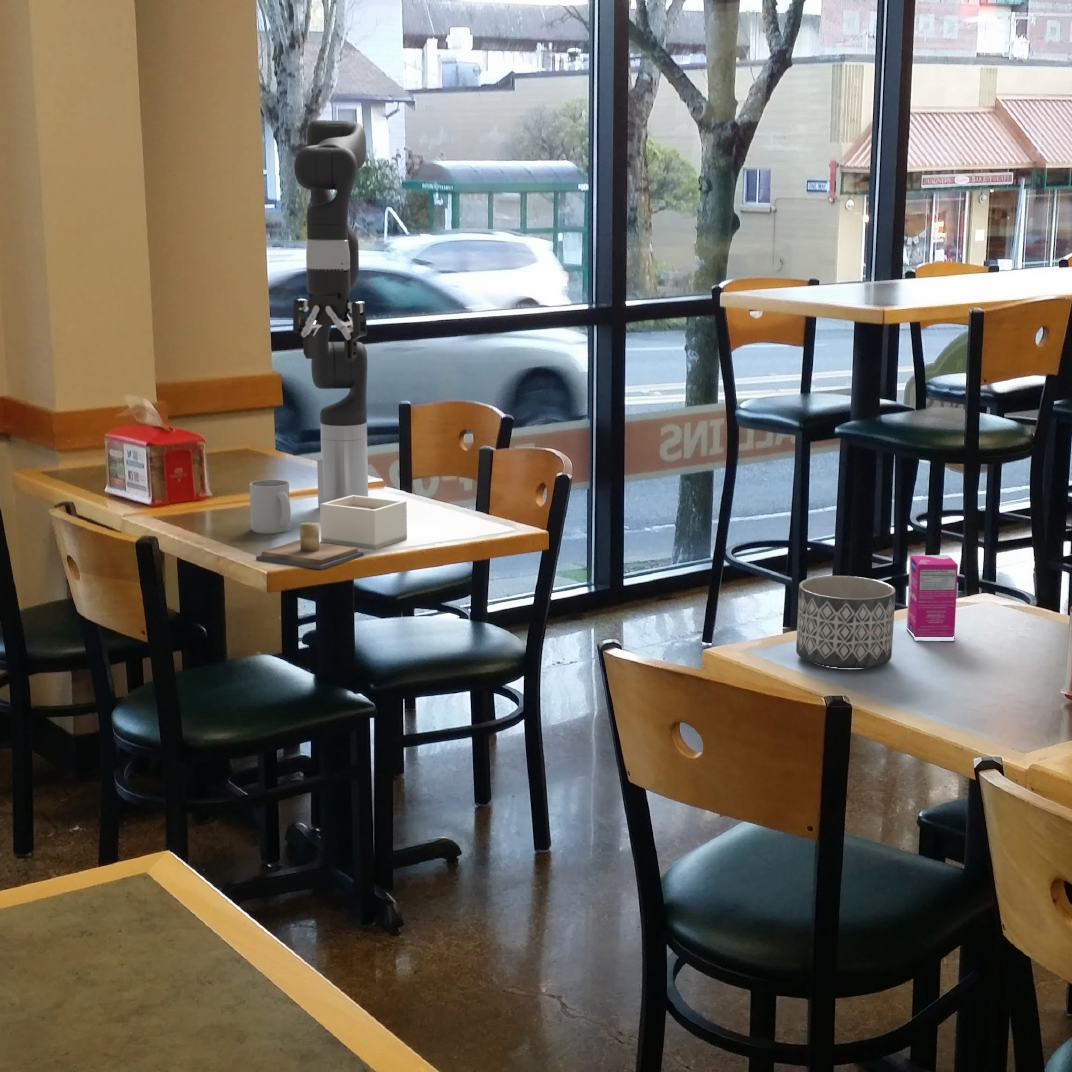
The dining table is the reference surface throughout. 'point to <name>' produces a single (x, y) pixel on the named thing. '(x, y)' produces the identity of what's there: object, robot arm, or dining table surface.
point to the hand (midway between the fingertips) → (330, 359)
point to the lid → (310, 548)
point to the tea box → (363, 521)
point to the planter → (845, 621)
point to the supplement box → (932, 595)
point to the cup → (270, 506)
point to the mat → (310, 565)
